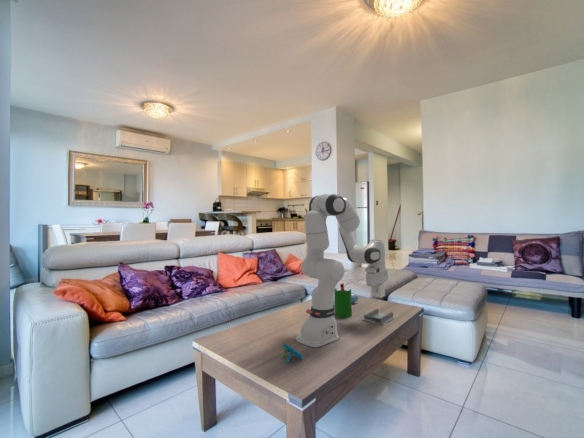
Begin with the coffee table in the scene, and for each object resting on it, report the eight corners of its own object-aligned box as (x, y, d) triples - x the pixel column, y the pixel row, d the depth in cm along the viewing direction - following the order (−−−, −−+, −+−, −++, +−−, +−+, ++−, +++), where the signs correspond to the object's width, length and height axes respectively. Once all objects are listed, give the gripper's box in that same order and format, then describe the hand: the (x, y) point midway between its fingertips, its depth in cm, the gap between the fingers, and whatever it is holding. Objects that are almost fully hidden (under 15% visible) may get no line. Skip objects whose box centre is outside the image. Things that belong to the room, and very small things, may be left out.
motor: (351, 313, 172) (350, 280, 172) (352, 318, 163) (351, 284, 163) (334, 312, 173) (333, 281, 173) (335, 317, 164) (334, 284, 164)
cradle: (383, 325, 150) (383, 320, 150) (362, 319, 159) (362, 314, 159) (395, 318, 161) (395, 313, 161) (374, 313, 170) (374, 308, 170)
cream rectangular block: (381, 297, 156) (380, 285, 156) (370, 295, 161) (370, 283, 161) (385, 295, 160) (384, 283, 160) (374, 293, 164) (374, 282, 164)
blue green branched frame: (308, 358, 114) (292, 345, 111) (301, 372, 111) (284, 359, 108) (294, 351, 123) (278, 339, 120) (287, 364, 120) (271, 352, 117)
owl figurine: (350, 285, 210) (367, 289, 198) (350, 296, 210) (367, 301, 198) (325, 292, 191) (343, 296, 180) (325, 304, 191) (343, 310, 180)
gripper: (380, 264, 170) (381, 287, 170) (363, 269, 155) (364, 294, 155) (390, 265, 166) (391, 288, 165) (374, 270, 151) (374, 295, 151)
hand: (378, 291), depth 160 cm, fingers closed on cream rectangular block, 5 cm apart
